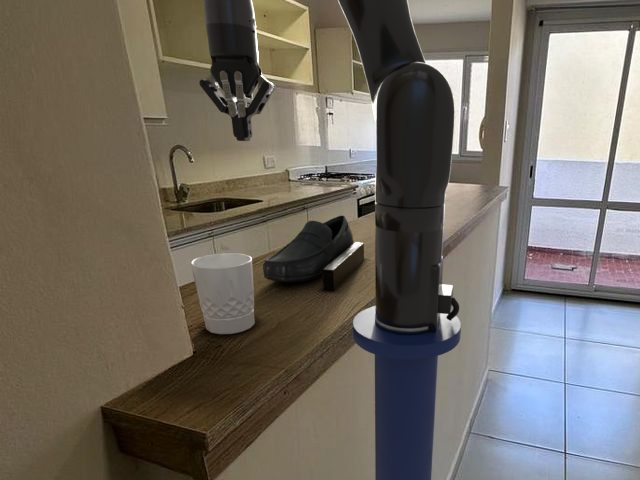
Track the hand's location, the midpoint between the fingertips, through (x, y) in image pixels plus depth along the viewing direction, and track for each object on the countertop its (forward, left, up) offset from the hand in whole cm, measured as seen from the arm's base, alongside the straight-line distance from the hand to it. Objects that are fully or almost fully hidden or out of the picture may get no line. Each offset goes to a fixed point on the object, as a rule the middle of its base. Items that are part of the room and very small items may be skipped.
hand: (243, 140), depth 79 cm
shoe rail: (-16, -6, -25) cm, 30 cm away
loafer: (-9, -6, -25) cm, 27 cm away
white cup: (-7, +23, -25) cm, 35 cm away
